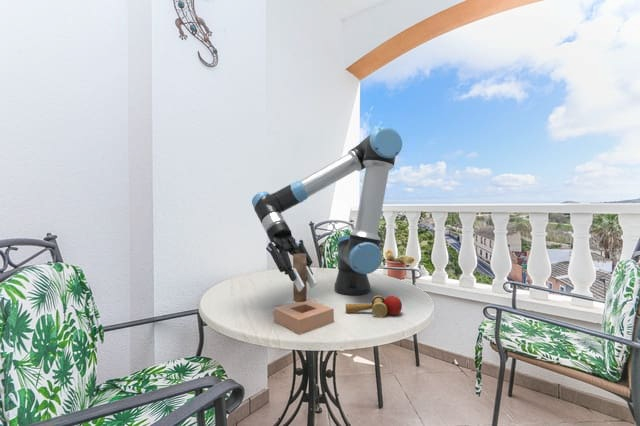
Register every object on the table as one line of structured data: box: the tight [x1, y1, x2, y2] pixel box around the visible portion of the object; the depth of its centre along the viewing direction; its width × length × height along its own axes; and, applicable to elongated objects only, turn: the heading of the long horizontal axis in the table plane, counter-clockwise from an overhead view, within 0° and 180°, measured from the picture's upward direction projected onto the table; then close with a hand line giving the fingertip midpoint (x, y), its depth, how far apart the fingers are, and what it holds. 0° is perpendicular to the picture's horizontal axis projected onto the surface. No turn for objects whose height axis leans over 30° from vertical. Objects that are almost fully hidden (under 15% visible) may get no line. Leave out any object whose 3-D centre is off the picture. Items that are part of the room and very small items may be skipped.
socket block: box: [273, 298, 335, 335], centre depth 88 cm, size 13×13×4 cm
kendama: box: [345, 294, 403, 318], centre depth 94 cm, size 8×6×18 cm
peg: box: [292, 253, 308, 303], centre depth 88 cm, size 4×4×14 cm
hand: (307, 287), depth 85 cm, fingers closed on peg, 4 cm apart
